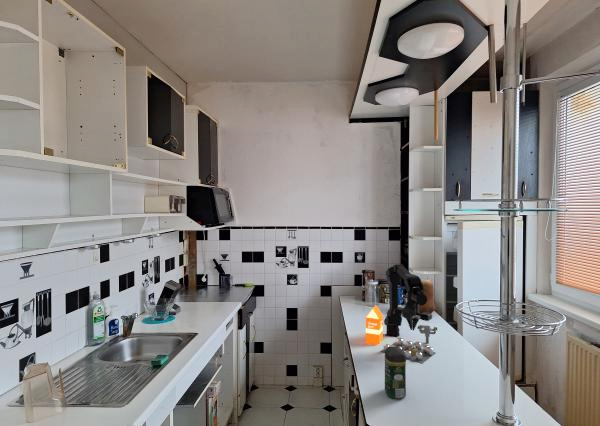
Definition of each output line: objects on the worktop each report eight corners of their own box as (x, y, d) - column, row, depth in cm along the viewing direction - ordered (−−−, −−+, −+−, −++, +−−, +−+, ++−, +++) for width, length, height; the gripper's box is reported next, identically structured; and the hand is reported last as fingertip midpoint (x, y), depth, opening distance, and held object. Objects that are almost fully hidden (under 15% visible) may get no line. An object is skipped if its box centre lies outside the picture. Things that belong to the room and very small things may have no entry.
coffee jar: (382, 388, 161) (382, 344, 160) (401, 388, 161) (401, 344, 160) (388, 400, 151) (388, 353, 150) (408, 400, 151) (408, 353, 151)
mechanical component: (437, 345, 208) (437, 327, 208) (417, 344, 210) (418, 326, 210) (436, 343, 211) (436, 326, 211) (417, 342, 213) (417, 324, 213)
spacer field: (382, 352, 198) (382, 345, 198) (398, 342, 211) (398, 336, 211) (422, 363, 184) (422, 356, 183) (436, 352, 197) (436, 346, 197)
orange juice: (382, 340, 216) (383, 305, 216) (379, 345, 208) (379, 309, 208) (369, 338, 220) (369, 303, 219) (365, 343, 212) (365, 307, 211)
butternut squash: (418, 311, 274) (419, 276, 274) (437, 314, 267) (438, 278, 266) (412, 315, 263) (412, 279, 262) (431, 319, 255) (432, 282, 255)
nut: (408, 354, 194) (408, 349, 194) (409, 351, 199) (409, 346, 199) (416, 356, 193) (417, 351, 192) (418, 352, 197) (418, 347, 197)
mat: (379, 352, 198) (379, 351, 198) (395, 343, 212) (395, 342, 212) (422, 365, 183) (422, 363, 183) (436, 353, 197) (436, 352, 197)
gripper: (388, 300, 198) (388, 330, 198) (423, 306, 185) (423, 338, 186) (398, 296, 206) (398, 324, 206) (432, 302, 194) (432, 332, 194)
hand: (412, 330), depth 198 cm, fingers closed
